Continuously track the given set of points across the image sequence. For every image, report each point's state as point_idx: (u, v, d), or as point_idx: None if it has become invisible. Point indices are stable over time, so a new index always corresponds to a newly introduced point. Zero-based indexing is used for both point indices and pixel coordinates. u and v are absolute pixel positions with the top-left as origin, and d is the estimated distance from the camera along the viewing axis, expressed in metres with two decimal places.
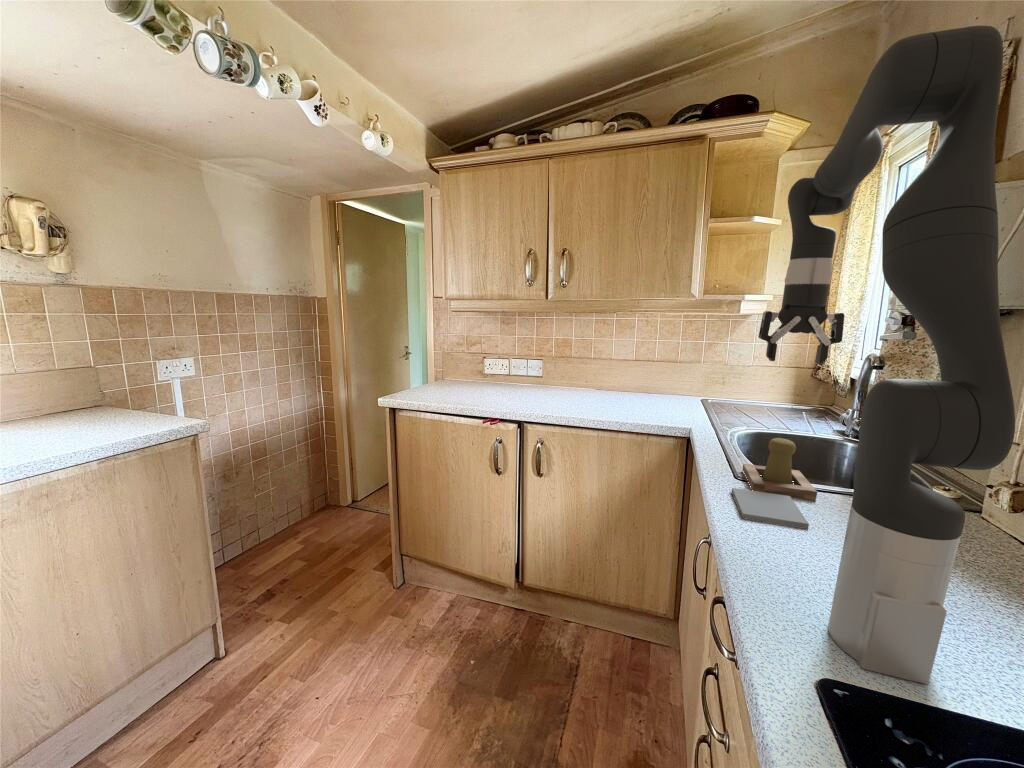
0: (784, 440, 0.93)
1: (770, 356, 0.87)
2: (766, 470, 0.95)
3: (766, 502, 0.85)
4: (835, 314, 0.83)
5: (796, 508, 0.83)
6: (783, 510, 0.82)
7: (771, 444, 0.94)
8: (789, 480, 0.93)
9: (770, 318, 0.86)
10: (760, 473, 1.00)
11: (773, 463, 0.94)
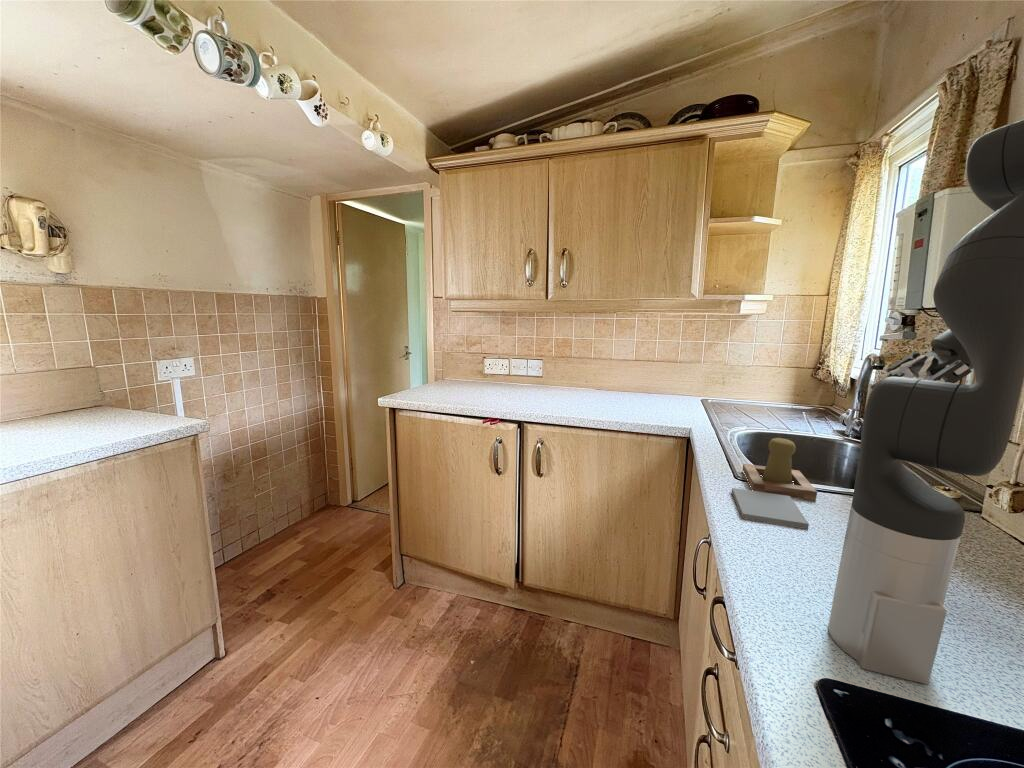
0: (784, 440, 0.93)
1: (875, 384, 0.84)
2: (766, 470, 0.95)
3: (766, 502, 0.85)
4: None
5: (796, 508, 0.83)
6: (783, 510, 0.82)
7: (771, 444, 0.94)
8: (789, 480, 0.93)
9: (910, 356, 0.82)
10: (760, 473, 1.00)
11: (773, 463, 0.94)
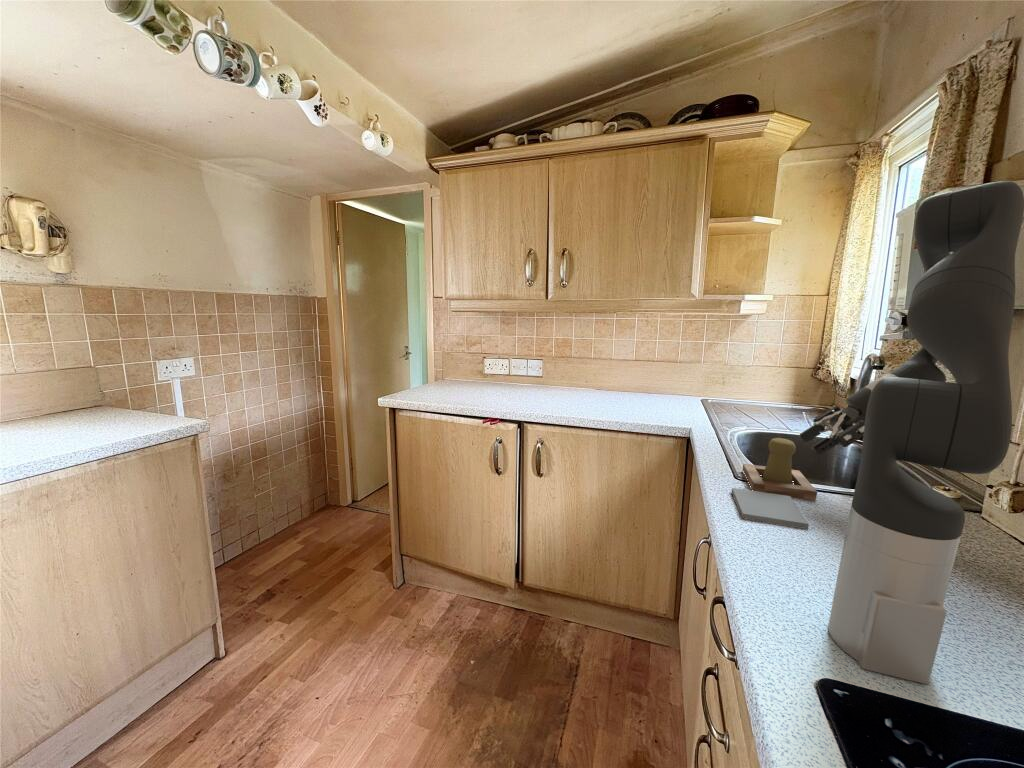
0: (784, 440, 0.93)
1: None
2: (766, 470, 0.95)
3: (766, 502, 0.85)
4: None
5: (796, 508, 0.83)
6: (783, 510, 0.82)
7: (771, 444, 0.94)
8: (789, 480, 0.93)
9: (832, 410, 0.94)
10: (760, 473, 1.00)
11: (773, 463, 0.94)
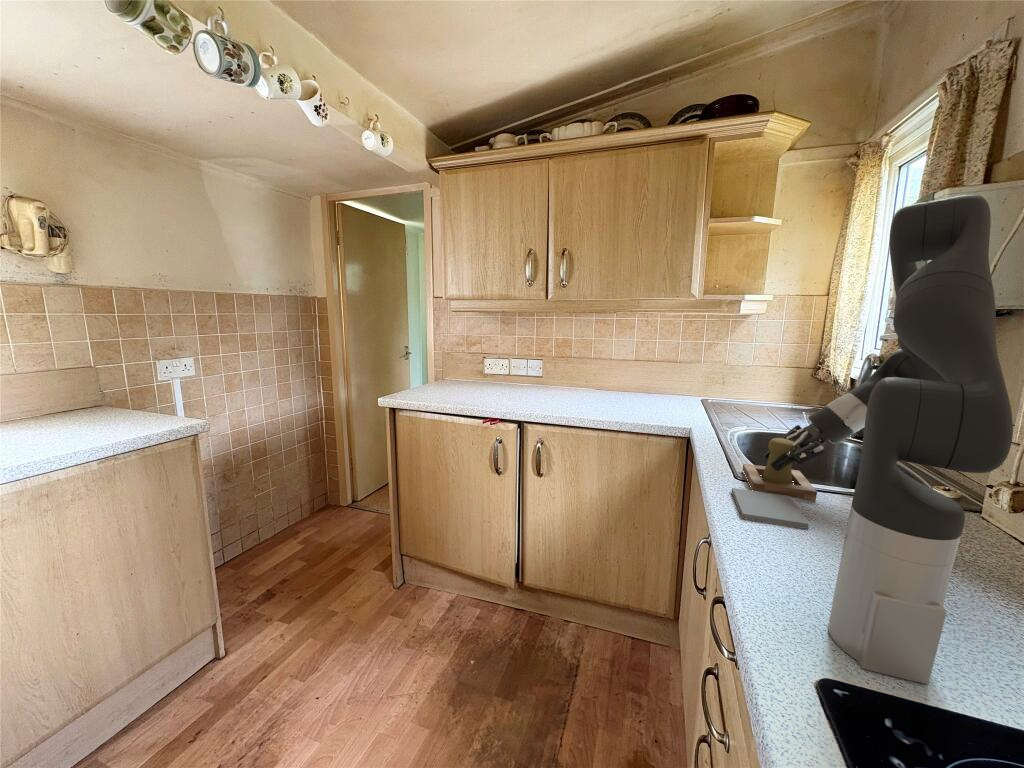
0: (784, 440, 0.93)
1: None
2: (766, 470, 0.95)
3: (766, 502, 0.85)
4: None
5: (796, 508, 0.83)
6: (783, 510, 0.82)
7: (771, 444, 0.94)
8: (789, 480, 0.93)
9: (794, 429, 0.97)
10: (760, 473, 1.00)
11: None
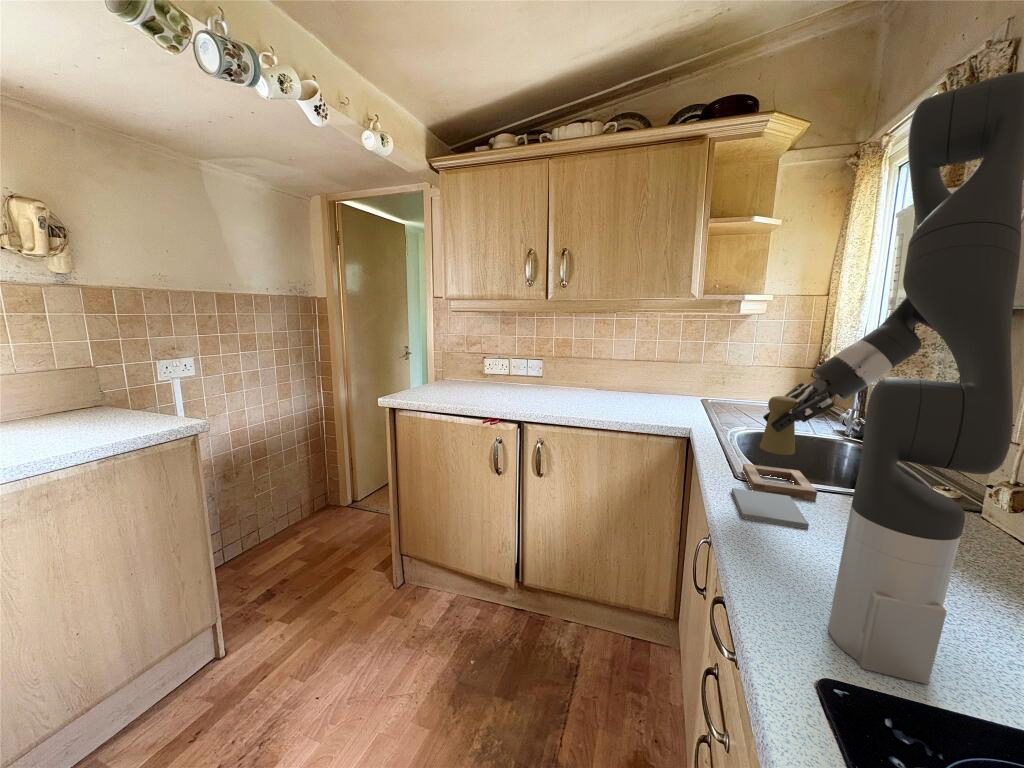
0: (786, 397, 0.81)
1: None
2: (765, 433, 0.83)
3: (766, 502, 0.85)
4: None
5: (796, 508, 0.83)
6: (783, 510, 0.82)
7: (771, 402, 0.82)
8: (792, 443, 0.81)
9: (797, 387, 0.86)
10: (760, 473, 1.00)
11: None
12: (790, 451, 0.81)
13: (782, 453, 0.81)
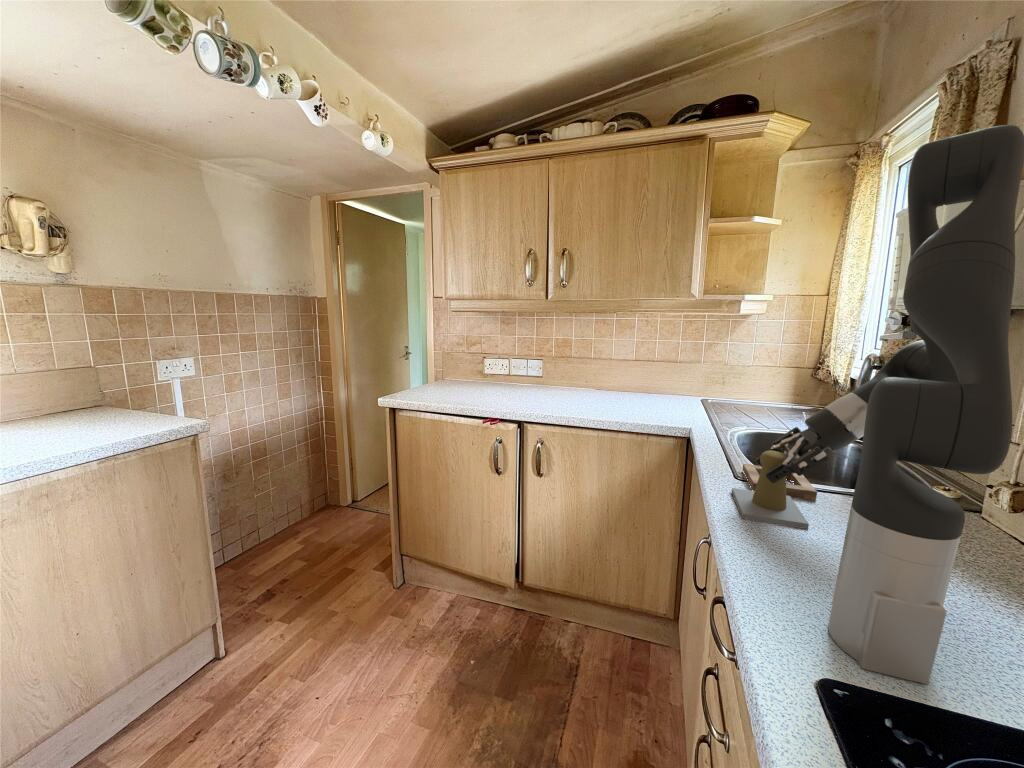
0: (777, 453, 0.82)
1: None
2: (757, 487, 0.84)
3: None
4: None
5: (796, 508, 0.83)
6: (783, 510, 0.82)
7: (763, 458, 0.83)
8: (783, 499, 0.82)
9: (791, 432, 0.86)
10: None
11: (765, 479, 0.82)
12: (782, 507, 0.82)
13: (774, 509, 0.82)
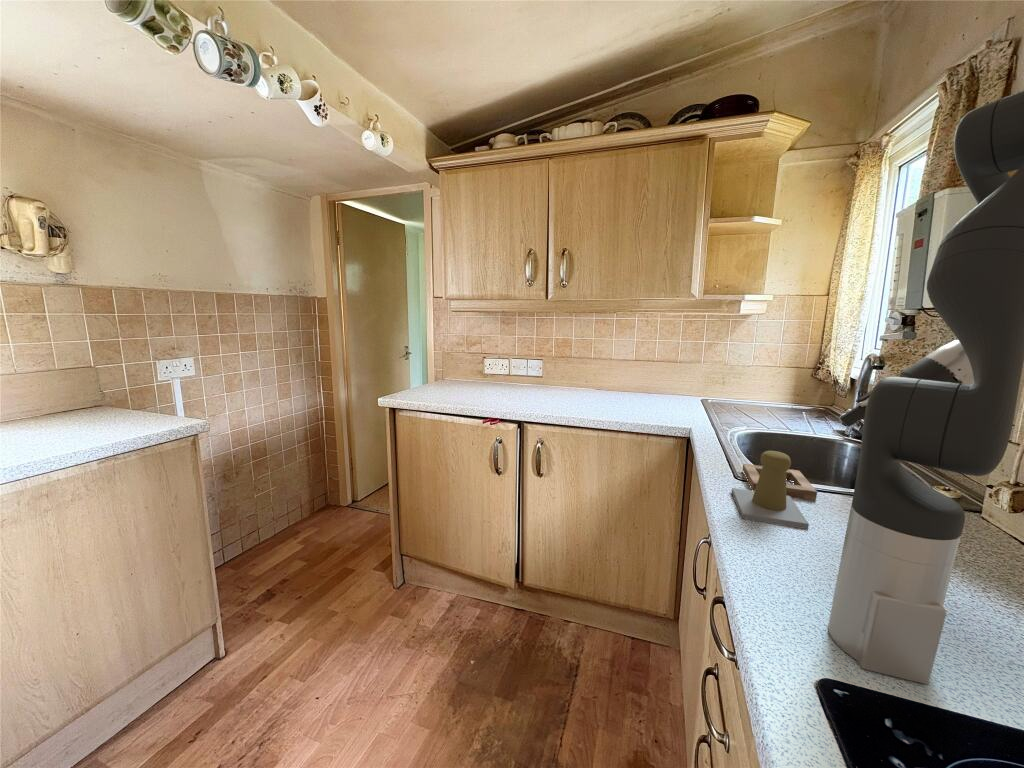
0: (778, 453, 0.82)
1: None
2: (757, 487, 0.84)
3: None
4: None
5: (796, 508, 0.83)
6: (783, 510, 0.82)
7: (763, 458, 0.83)
8: (783, 499, 0.82)
9: None
10: None
11: (766, 479, 0.82)
12: (782, 507, 0.82)
13: (774, 509, 0.82)
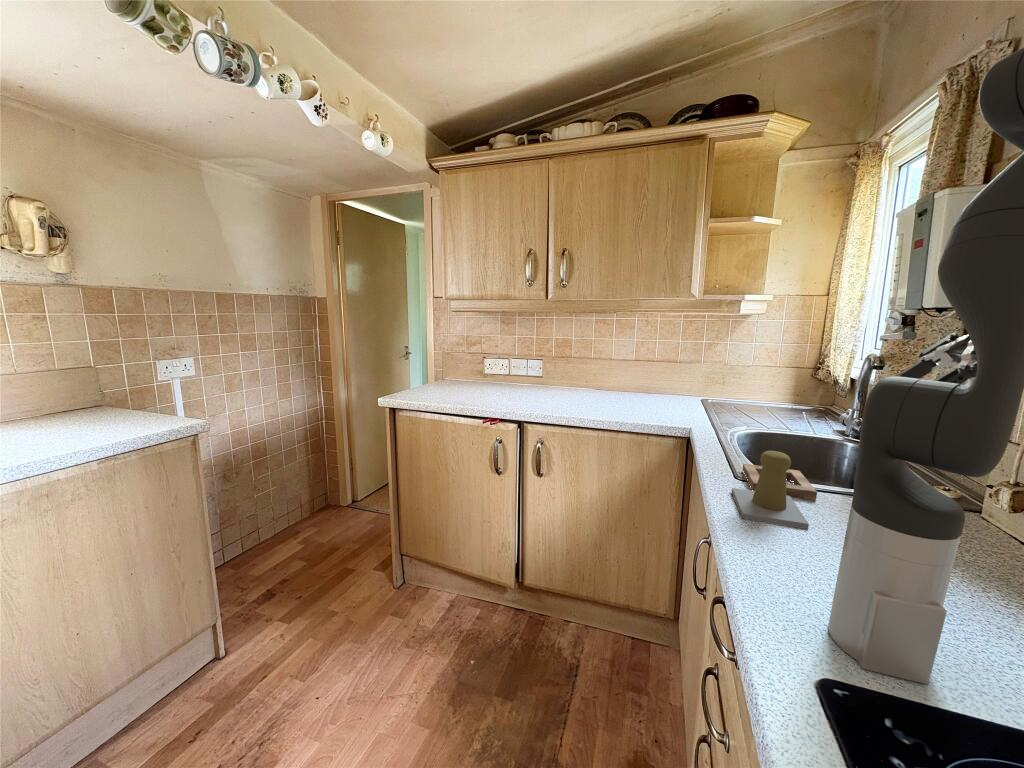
0: (778, 453, 0.82)
1: None
2: (757, 487, 0.84)
3: None
4: None
5: (796, 508, 0.83)
6: (783, 510, 0.82)
7: (763, 458, 0.83)
8: (783, 499, 0.82)
9: (947, 338, 0.69)
10: None
11: (765, 479, 0.82)
12: (782, 507, 0.82)
13: (774, 509, 0.82)
